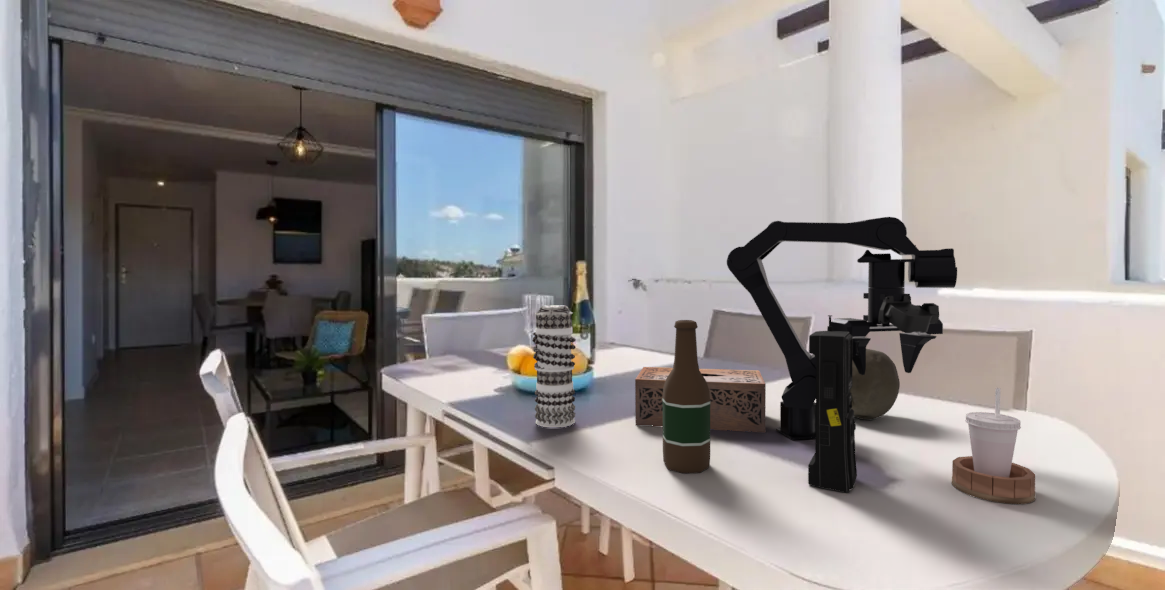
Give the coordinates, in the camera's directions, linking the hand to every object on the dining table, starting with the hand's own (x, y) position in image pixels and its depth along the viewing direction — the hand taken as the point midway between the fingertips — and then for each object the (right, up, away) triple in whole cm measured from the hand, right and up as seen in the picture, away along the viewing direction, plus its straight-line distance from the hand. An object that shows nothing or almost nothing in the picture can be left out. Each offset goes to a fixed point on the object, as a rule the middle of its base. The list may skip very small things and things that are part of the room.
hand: (885, 373), depth 98 cm
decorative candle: (-61, -13, +17) cm, 65 cm away
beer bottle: (-38, -14, -9) cm, 41 cm away
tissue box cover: (-30, -13, +19) cm, 37 cm away
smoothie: (+4, -13, -20) cm, 24 cm away
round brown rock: (+6, -12, +19) cm, 23 cm away
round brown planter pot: (+4, -14, -20) cm, 25 cm away
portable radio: (-18, -14, -17) cm, 28 cm away
